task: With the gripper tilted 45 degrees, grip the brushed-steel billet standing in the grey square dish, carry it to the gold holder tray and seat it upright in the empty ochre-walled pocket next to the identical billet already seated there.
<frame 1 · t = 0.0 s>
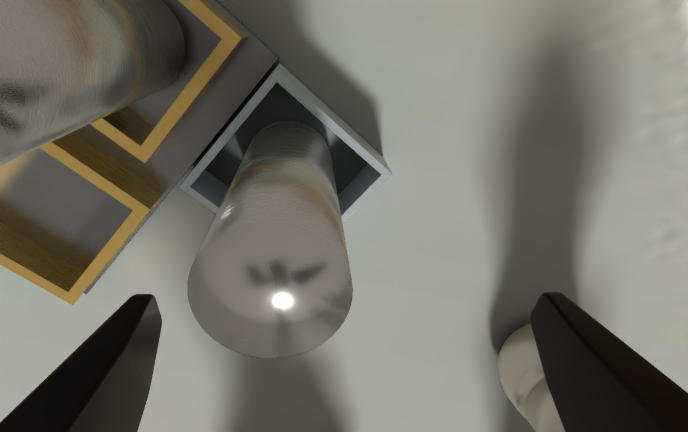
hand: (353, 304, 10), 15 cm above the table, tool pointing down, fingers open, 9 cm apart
gold holder tray: (96, 123, 23), on the table
billet twin: (133, 41, 20), point 1 cm above the table, touching gold holder tray
grey square dish: (289, 162, 25), on the table
billet: (283, 207, 19), in the grey square dish
plastic bottle: (530, 342, 32), on the table
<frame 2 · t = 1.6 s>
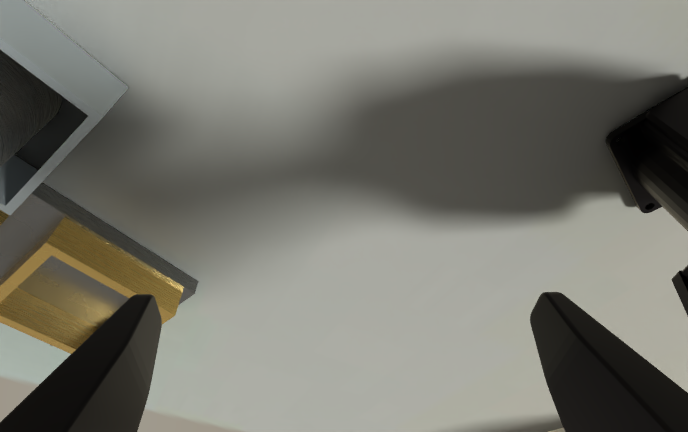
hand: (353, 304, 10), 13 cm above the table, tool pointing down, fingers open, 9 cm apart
gold holder tray: (16, 242, 25), on the table
grey square dish: (1, 78, 19), on the table
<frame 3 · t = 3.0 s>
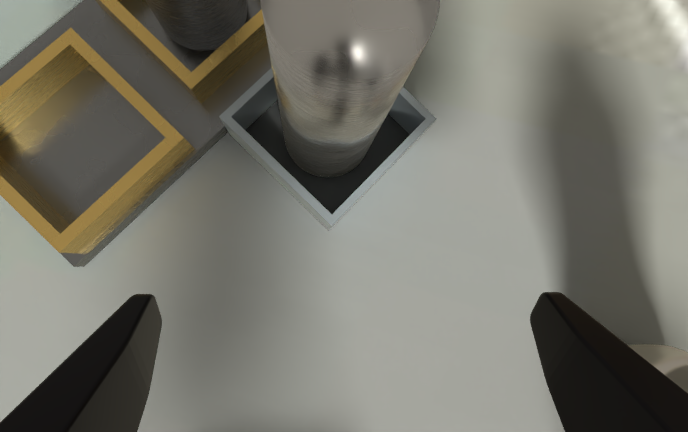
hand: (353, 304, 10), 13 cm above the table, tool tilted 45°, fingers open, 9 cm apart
gold holder tray: (146, 83, 24), on the table
billet twin: (202, 8, 23), point 1 cm above the table, touching gold holder tray
grey square dish: (327, 135, 24), on the table
billet: (335, 89, 18), in the grey square dish
plastic bottle: (619, 395, 24), on the table
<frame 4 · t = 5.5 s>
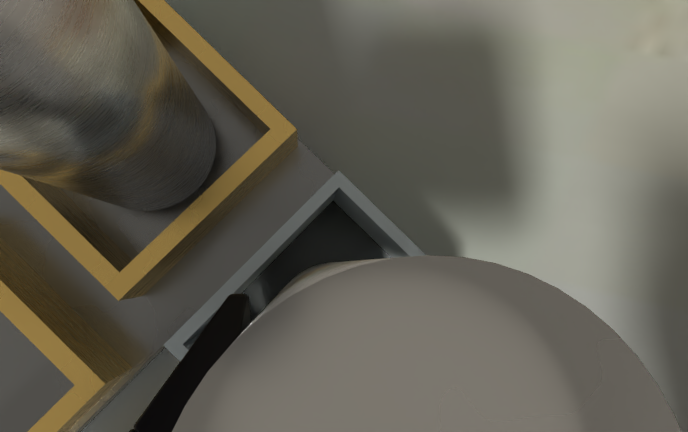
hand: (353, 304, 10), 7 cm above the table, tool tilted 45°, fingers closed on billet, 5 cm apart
gold holder tray: (64, 255, 16), on the table
billet twin: (148, 144, 16), point 1 cm above the table, touching gold holder tray
grey square dish: (334, 325, 16), on the table
billet: (353, 364, 10), in the grey square dish, touching gripper
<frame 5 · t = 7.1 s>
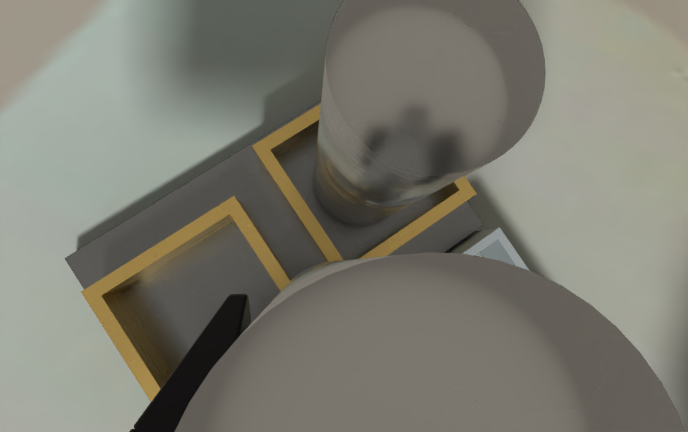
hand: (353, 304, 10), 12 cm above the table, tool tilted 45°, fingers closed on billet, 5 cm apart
gold holder tray: (284, 241, 22), on the table
billet twin: (360, 178, 22), point 1 cm above the table, touching gold holder tray
grey square dish: (459, 331, 23), on the table
billet: (354, 363, 10), point 12 cm above the table, touching gripper
when the fingers open (9 cm above the table, at t = 8.7 s): billet drops 1 cm, resting on gold holder tray.
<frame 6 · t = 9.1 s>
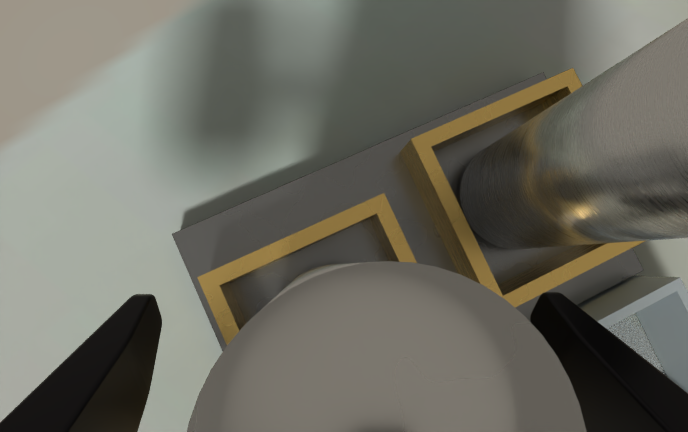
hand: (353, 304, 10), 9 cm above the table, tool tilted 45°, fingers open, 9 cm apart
gold holder tray: (412, 253, 20), on the table
billet twin: (512, 195, 19), point 1 cm above the table, touching gold holder tray
grey square dish: (595, 387, 20), on the table
billet: (346, 354, 11), in the gold holder tray, point 8 cm above the table
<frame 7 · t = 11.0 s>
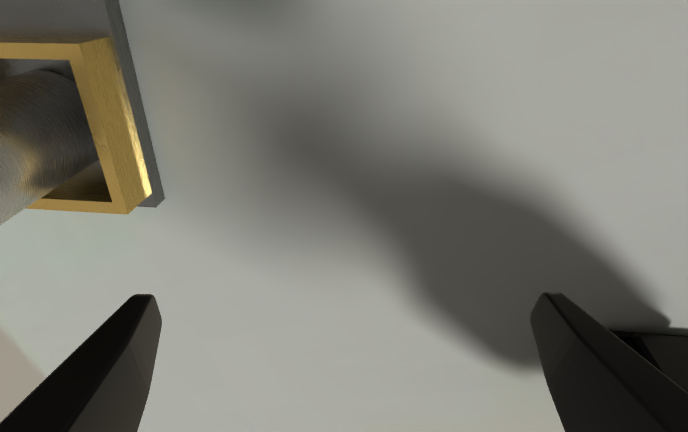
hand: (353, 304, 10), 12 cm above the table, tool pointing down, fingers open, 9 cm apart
gold holder tray: (17, 15, 20), on the table
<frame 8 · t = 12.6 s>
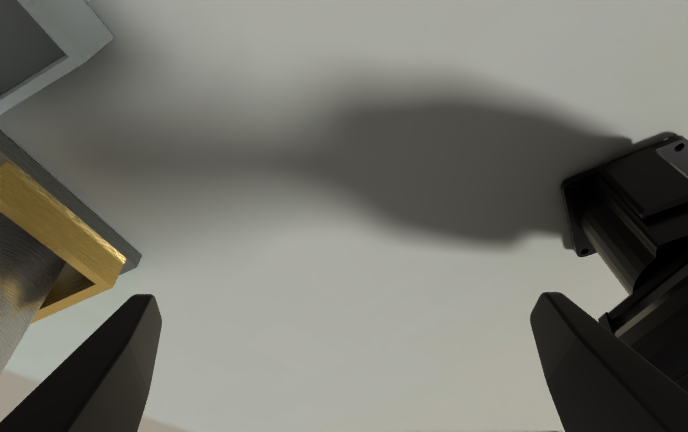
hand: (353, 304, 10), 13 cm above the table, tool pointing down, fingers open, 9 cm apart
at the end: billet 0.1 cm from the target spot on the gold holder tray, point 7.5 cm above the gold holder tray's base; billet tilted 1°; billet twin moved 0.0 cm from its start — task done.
